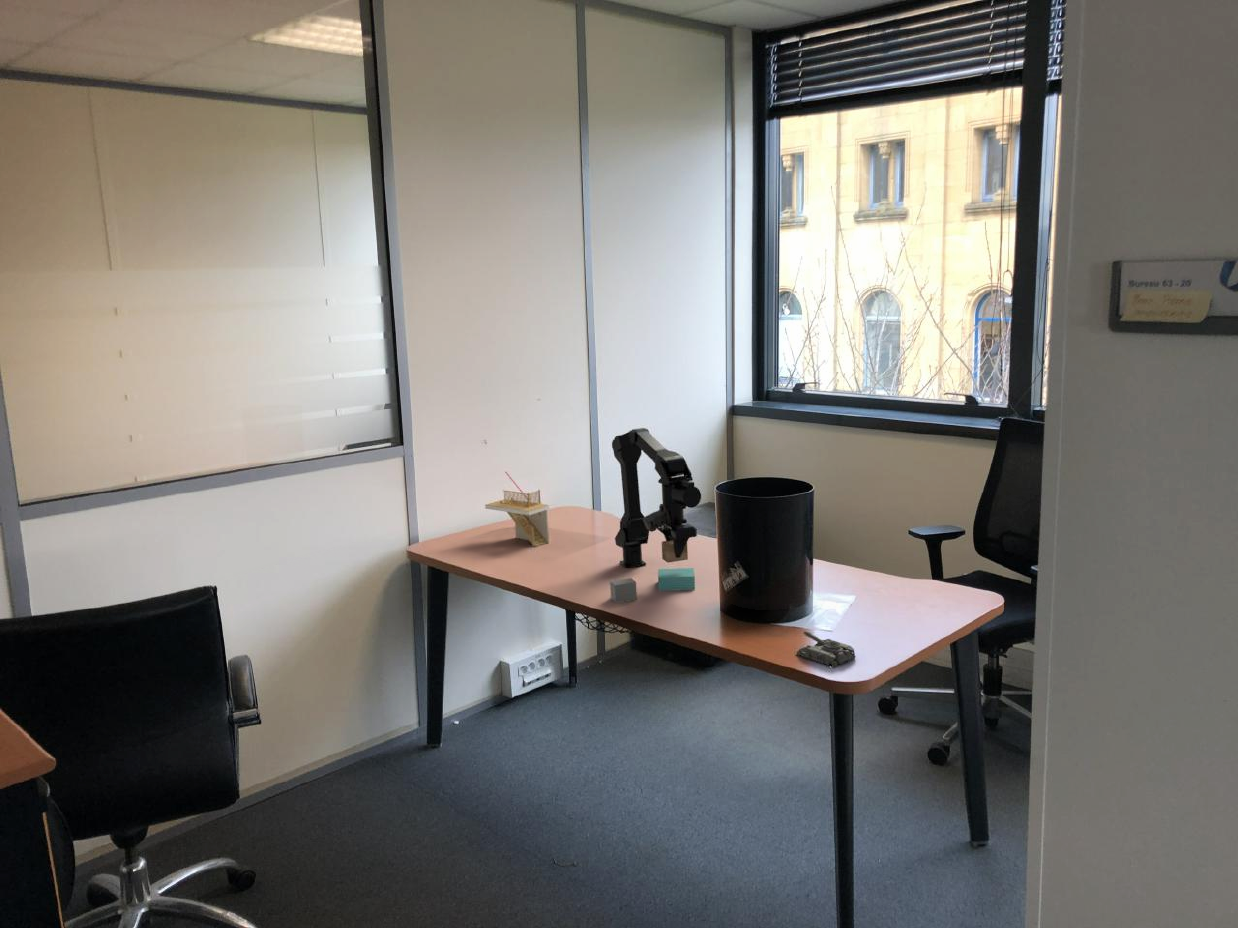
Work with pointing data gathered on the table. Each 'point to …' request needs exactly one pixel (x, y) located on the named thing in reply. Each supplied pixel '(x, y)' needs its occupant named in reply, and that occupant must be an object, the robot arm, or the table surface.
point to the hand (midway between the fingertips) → (675, 555)
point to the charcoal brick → (623, 590)
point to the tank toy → (827, 651)
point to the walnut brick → (672, 552)
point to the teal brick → (676, 579)
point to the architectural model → (525, 516)
